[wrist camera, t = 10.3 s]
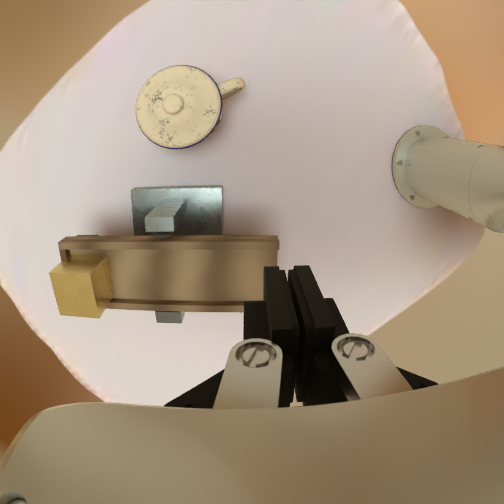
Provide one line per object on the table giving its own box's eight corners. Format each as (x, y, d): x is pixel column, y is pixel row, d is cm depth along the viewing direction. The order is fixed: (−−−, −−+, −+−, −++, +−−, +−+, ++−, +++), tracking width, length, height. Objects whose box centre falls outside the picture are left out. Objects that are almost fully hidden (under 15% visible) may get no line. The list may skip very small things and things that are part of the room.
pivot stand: (222, 185, 41) (218, 204, 30) (223, 288, 46) (220, 332, 36) (134, 188, 40) (103, 207, 30) (144, 287, 45) (123, 329, 35)
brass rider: (107, 254, 32) (89, 273, 27) (114, 294, 33) (99, 318, 29) (70, 254, 31) (49, 272, 27) (78, 293, 33) (60, 314, 28)
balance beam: (274, 228, 35) (279, 240, 31) (271, 295, 38) (275, 313, 34) (73, 229, 33) (57, 240, 30) (84, 291, 36) (72, 307, 33)
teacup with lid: (171, 157, 39) (148, 167, 28) (144, 98, 36) (112, 86, 25) (256, 119, 38) (265, 113, 27) (229, 59, 34) (227, 31, 24)
